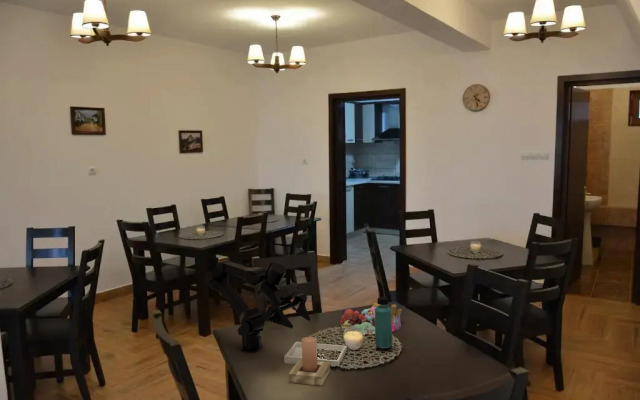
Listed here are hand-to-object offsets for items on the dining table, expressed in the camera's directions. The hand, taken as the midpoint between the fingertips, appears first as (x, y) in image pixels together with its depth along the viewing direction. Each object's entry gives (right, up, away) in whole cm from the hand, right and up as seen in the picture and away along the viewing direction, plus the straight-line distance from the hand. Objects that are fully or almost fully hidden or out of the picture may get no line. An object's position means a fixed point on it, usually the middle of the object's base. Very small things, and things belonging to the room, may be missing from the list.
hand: (301, 323), depth 178 cm
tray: (+5, -15, +8) cm, 17 cm away
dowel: (+3, -16, -7) cm, 18 cm away
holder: (+3, -16, -7) cm, 18 cm away
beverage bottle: (+31, -13, +15) cm, 37 cm away
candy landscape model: (+29, -11, +39) cm, 50 cm away
